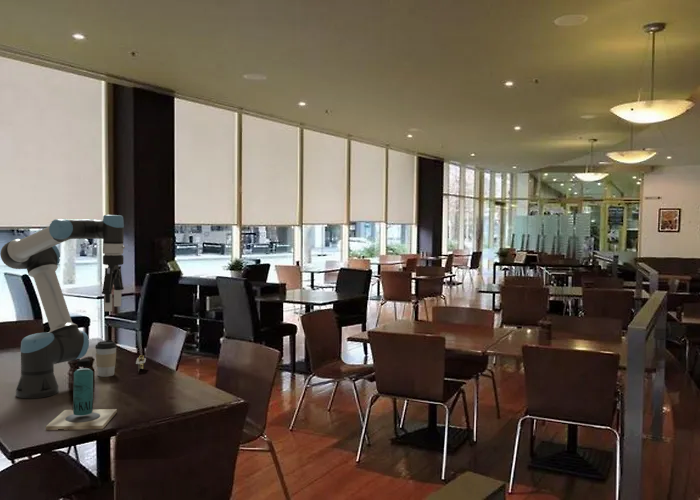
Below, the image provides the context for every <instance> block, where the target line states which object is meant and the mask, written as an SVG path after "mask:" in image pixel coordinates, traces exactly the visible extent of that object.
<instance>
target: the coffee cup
mask: <svg viewBox="0 0 700 500" xmlns="http://www.w3.org/2000/svg"><path fill="white" fill-rule="evenodd" d="M117 347H118V346H117V343H115V341H114V340H113V339H112V340H111V339H108V340H106V341H105V340H103V341H99V342H97V344H95V347H94V348H95V361H96V362H95V363H96V370H97V376H98V377H102V378H103V377H105V378H106V377H112V376H115V369H116V367H115V366H116V362H117V361H116V359H117Z"/></svg>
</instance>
